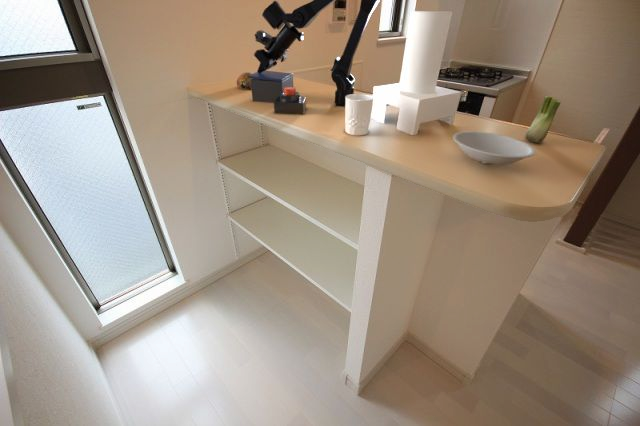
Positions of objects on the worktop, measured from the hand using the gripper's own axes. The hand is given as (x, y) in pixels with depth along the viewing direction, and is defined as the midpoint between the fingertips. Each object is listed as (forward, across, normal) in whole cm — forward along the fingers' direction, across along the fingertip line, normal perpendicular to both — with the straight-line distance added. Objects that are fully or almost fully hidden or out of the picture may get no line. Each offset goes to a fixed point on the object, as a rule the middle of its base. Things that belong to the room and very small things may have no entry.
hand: (258, 72), depth 116 cm
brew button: (-10, +14, +15) cm, 23 cm away
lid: (-3, 0, +5) cm, 5 cm away
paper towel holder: (-35, +14, +49) cm, 62 cm away
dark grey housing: (+3, 0, +11) cm, 11 cm away
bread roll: (+16, -15, -2) cm, 22 cm away
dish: (-48, +41, +62) cm, 88 cm away
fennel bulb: (-59, +22, +73) cm, 96 cm away
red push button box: (-6, +14, +19) cm, 25 cm away
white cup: (-24, +29, +38) cm, 53 cm away
